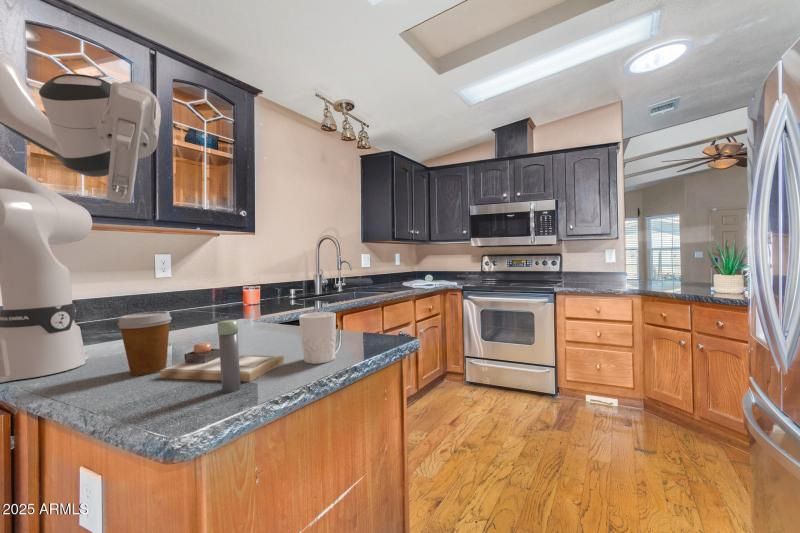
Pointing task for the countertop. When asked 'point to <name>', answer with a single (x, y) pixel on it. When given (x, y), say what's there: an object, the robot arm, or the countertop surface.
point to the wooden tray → (211, 369)
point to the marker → (229, 355)
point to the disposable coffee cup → (146, 341)
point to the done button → (202, 348)
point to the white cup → (318, 336)
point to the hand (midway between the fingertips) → (119, 170)
